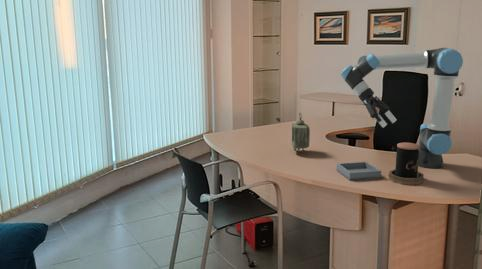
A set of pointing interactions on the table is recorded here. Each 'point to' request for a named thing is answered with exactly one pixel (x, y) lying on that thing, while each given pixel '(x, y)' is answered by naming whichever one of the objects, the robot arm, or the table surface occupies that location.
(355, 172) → the tray
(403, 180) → the ring guard
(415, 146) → the coffee jar
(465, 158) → the table surface
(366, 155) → the table surface
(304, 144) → the green lantern
